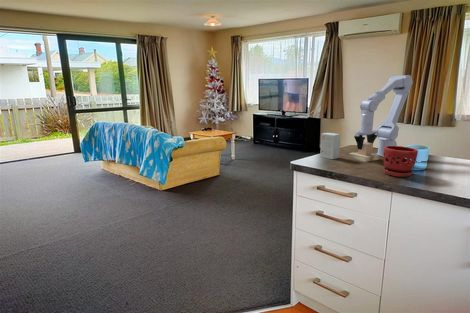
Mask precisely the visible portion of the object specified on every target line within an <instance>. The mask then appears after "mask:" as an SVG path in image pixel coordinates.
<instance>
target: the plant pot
mask: <svg viewBox="0 0 470 313" xmlns="http://www.w3.org/2000/svg"><path fill="white" fill-rule="evenodd" d="M418 152H419V150H418V149H416V148H413V147H410V146H409V147H408V146H403V145H401V146H400V145H397V146H385V147H384V154H383V156H382V159H383V164H384V167H383V169H382V170H383V172H384V173H385V174H387V175H389V176H392V177H399V178H403V177H409V176H411V175H412V174H413V171H412V169H413V168H414V166H415V164H416V162H417V157H418Z"/></svg>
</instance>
